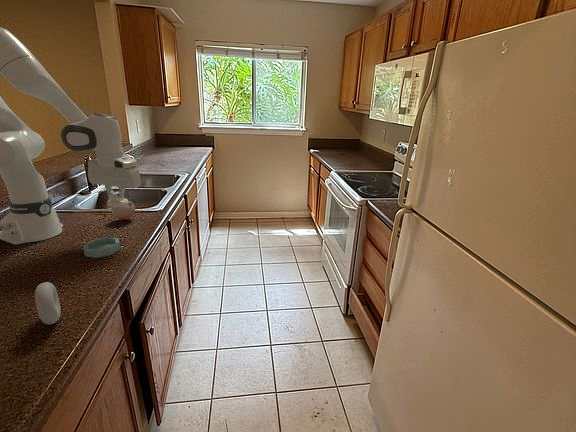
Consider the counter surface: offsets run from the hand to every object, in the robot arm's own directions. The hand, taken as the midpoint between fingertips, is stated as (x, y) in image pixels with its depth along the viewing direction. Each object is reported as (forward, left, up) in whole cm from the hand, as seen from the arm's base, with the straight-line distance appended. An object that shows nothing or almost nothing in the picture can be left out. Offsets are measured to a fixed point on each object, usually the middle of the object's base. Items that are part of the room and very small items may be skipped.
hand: (116, 197), depth 119 cm
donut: (+21, -48, -15) cm, 54 cm away
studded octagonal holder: (+3, -14, -15) cm, 21 cm away
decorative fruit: (-10, +12, -15) cm, 22 cm away
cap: (0, 0, -3) cm, 3 cm away
